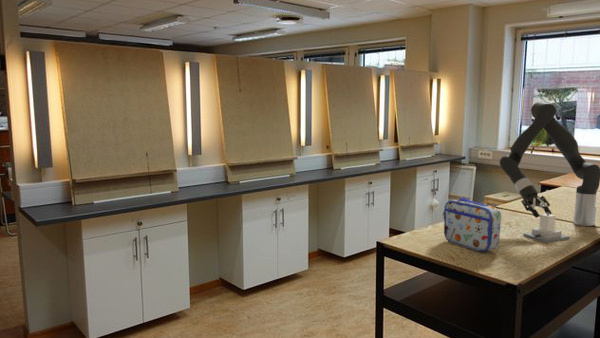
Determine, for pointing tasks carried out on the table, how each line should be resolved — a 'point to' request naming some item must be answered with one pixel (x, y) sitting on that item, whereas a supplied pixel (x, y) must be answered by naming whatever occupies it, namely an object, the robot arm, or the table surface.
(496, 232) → the lunch box
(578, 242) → the table surface
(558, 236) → the charging dock
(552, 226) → the block
